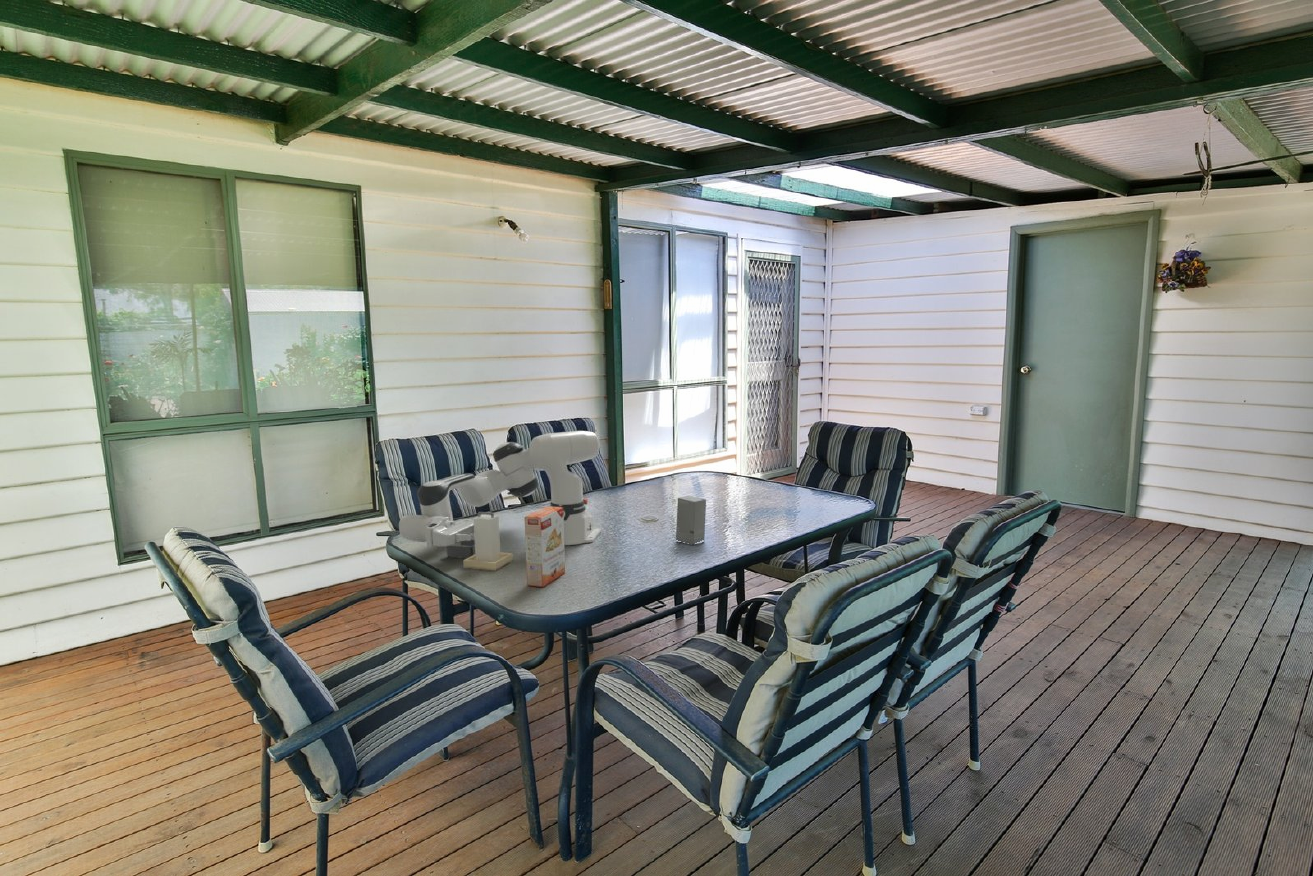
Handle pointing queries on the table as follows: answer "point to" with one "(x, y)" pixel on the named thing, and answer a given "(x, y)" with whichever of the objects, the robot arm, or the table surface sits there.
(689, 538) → the skincare box
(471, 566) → the tray
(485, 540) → the white tall block
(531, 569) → the cracker box
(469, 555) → the dock
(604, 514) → the table surface
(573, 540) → the robot arm
